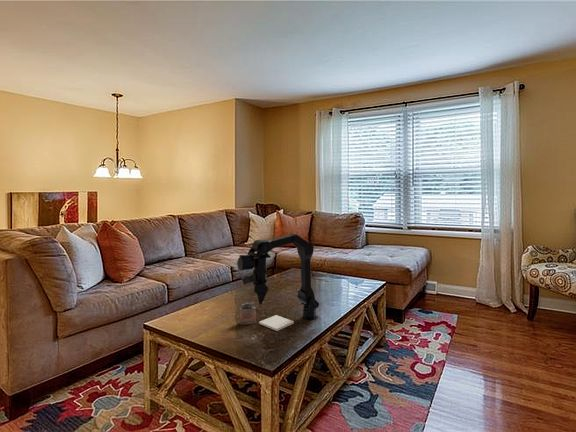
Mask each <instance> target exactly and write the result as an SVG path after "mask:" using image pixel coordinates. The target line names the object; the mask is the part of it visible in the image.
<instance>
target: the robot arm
mask: <svg viewBox="0 0 576 432" xmlns="http://www.w3.org/2000/svg"><path fill="white" fill-rule="evenodd" d="M290 244H292V245H294V246H295V247H296V251H297V254H298V257H299V258H300V279H301V280H300V281H301V283H300V284H301V286H300V289H297V298H298V300H299V302H300V304H301V305H303V310H302V315H301V316H300V318H301V319H305V320H307V321H309V322H311V321H314V320H315V319H318V318H319V316H318V315H316V311H317V309H318V308H319V305H320V303H319V302H318V301H317V299H316V298H315V292H314V290H313V288H312V273H311V271H312V268H311V267H312V266H311V259H312V257H313V254H314V249H315V246H314V244H313V243H312V242H311V241H307V240H305V239H304V238H302V237H301V236H299V235H298V234H297V233H289V234H286V235H283V236H280V237H275V238H271V239H256V240H254V241H253V242H252V244H251V245H252V246H251V248H250V249H249V250H248V252H247V253H246V254H239V256H238V258H237V263H236V264H237V269H238V271H248V270H252V272H249V273H247V274H244V275H242V276H241V281H242V284H243V285H245V286H246V285H247V284H251V283H252V284H253V293H255V294H256V295H257V299H258V304H259V305H263V302H264V300H265V298H266V295H267V293H268V291H269V285H268V283H267V273H268V271H267V270H268V269H267V259H268V258H269V259H270V258H272V256H271V255H270V254H269V252H271V251H272V250H274V249H276V248H280V247H284V246H287V245H290Z"/></svg>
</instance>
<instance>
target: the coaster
mask: <svg viewBox="0 0 576 432" xmlns="http://www.w3.org/2000/svg"><path fill="white" fill-rule="evenodd" d="M294 322H295V321H293V320H291V319H289V318H285V317H283V316H280V315H278V314H275V315H273V316H269V317H268V318H266V319H265V318H264V319H262V320H260V321H259V322H258V325H261V326H264V327H266V328H269V329H271V330H274V331H276V332H278V331H280V330H283V329H285V328H286V327H289V326H292V325H294V324H295V323H294Z"/></svg>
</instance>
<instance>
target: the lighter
mask: <svg viewBox="0 0 576 432" xmlns="http://www.w3.org/2000/svg"><path fill="white" fill-rule="evenodd" d="M256 310H257V309H256V306H255V302H245V303H242V304H241V307H239V325H253V324H256V323H257V319H256Z"/></svg>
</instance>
